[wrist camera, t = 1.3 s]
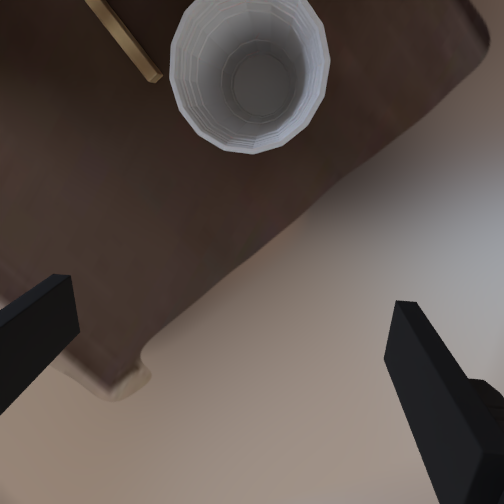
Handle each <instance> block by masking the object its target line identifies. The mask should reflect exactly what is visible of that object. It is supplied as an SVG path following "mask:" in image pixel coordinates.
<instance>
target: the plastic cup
mask: <svg viewBox="0 0 504 504" xmlns="http://www.w3.org/2000/svg"><path fill="white" fill-rule="evenodd" d="M329 67H330V56H329V50H328V45H327V40H326V35H325V30H324V25H323V23H322V22H321V20H320V19H319V17H318V16H317V14H316V13H315V11H314V10H313V8H312V7H311V5H310V4H309V2H308V1H307V0H195V1H194V2H193V3H192V4H191V5H190V6H189V7H188V8H187V9H186V10H185V11H184V14H183V16H182V18H181V21H180V23H179V26H178V28H177V31H176V33H175V35H174V38H173V40H172V43H171V53H170V75H169V79H170V82H171V86H172V89H173V92H174V95H175V99H176V102H177V105H178V108H179V111H180V112H181V113H182V115H183V116H184V117H185V119H186V120H187V121H188V123H189V124H190V125H191V126H192V128H193V129H194V130H195V132H196V133H197V134H198V135H199V136H200V137H202V138H204V139H205V140H207V141H209V142H210V143H212V144H214V145H216V146H217V147H219V148H221V149H222V150H224V151H231V152H239V153H247V154H256V153H260V152H263V151H267V150H270V149H274V148H277V147H281V146H283V145H284V144H285V143H287V142H288V141H289V140H290V139H292V138H293V137H294V136H295V135H297V134H298V133H299V132H300V131H302V130H303V129H304V128H305V127H307V126H308V124H309V122H310V121H311V119H312V117H313V115H314V114H315V112H316V110H317V108H318V107H319V105H320V103H321V102H322V100H323V98H324V96H325V91H326V85H327V79H328V73H329Z"/></svg>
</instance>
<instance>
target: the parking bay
mask: <svg viewBox="0 0 504 504" xmlns="http://www.w3.org/2000/svg"><path fill="white" fill-rule="evenodd" d="M85 2H86V3H87V4H88V6H89V7H90V8H91V9H92V11H93V12H94V13H95V14H96V16H97V17H98V18H99V20H100V21H101V22H102V23H103V25H104V26H105V27H106V28H107V30H108V31H109V32H110V34H111V35H112V36H113V37H114V39H115V40H116V41H117V42H118V44H119V45H120V46H121V48H122V49H123V50H124V51H125V53H126V54H127V55H128V56H129V58H130V59H131V60H132V62H133V63H134V64H135V65H136V67H137V68H138V69H139V70H140V72H141V73H142V74H143V76H144V77H145V78H146V79H147V81H148V82H151V83H156V82H157V81H158V80H159V79H160V78H161V77H162V76H163V74H162V73H161V71H160V70H159V69H158V68H157V66H156V65H155V64H154V62H153V61H152V60H151V59H150V57H149V56H148V55H147V53H146V52H145V51H144V49H143V48H142V47H141V46H140V44H139V43H138V42H137V40H136V39H135V38H134V36H133V35H132V34H131V33H130V31H129V30H128V29H127V27H126V26H125V25H124V24H123V22H122V21H121V20H120V18H119V17H118V16H117V14H116V13H115V12H114V11H113V9H112V8H111V7H110V5H109V4H108V3H107V1H106V0H85Z"/></svg>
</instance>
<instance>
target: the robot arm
mask: <svg viewBox="0 0 504 504" xmlns="http://www.w3.org/2000/svg"><path fill="white" fill-rule="evenodd" d="M79 333H80V328H79V322H78V316H77V310H76V304H75V298H74V292H73V286H72V280H71V275H58V274H53V275H51V276H50V277H48V278H47V279H45V280H44V281H42V282H41V283H39V284H38V285H36V286H35V287H33V288H32V289H31V290H29V291H28V292H26V293H25V294H23V295H22V296H20V297H19V298H17V299H16V300H14V301H13V302H12V303H10V304H9V305H7V306H6V307H4V308H3V309H1V310H0V415H1V414H2V413H3V412H4V411H5V410H6V409H7V408H8V407H9V406H10V405H11V403H13V402H14V401H15V399H17V398H18V396H19V395H20V394H21V393H22V392H23V391H24V390H25V389H26V388H27V387H28V386H29V385H30V384H31V383H32V382H33V381H34V380H35V379H36V377H38V375H39V374H40V373H41V372H42V371H43V370H44V369H45V368H46V367H47V366H48V365H49V364H50V363H51V362H52V361H53V360H54V359H55V358H56V357H57V356H58V355H59V354H60V352H61V351H62V350H63V349H64V348H65V347H66V346H67V345H68V344H69V343H70V342H71V341H72V340H73V339H74V338H75V337H76V336H77V335H78V334H79ZM384 361H385V364H386V366H387V369H388V372H389V374H390V377H391V379H392V382H393V384H394V387H395V389H396V392H397V395H398V397H399V400H400V403H401V405H402V408H403V410H404V413H405V415H406V418H407V421H408V423H409V426H410V428H411V431H412V434H413V436H414V439H415V441H416V444H417V447H418V449H419V452H420V454H421V456H422V460H423V462H424V465H425V467H426V470H427V472H428V475H429V477H430V480H431V483H432V485H433V488H434V491H435V493H436V496H437V498H438V500H439V503H440V504H504V397H503V396H502V395H501V394H500V392H498V391H497V390H496V389H495V388H493V387H492V386H491V385H490V384H488V383H487V382H486V381H484V380H478V379H468V378H467V376H466V375H465V373H464V372H463V370H462V369H461V367H460V366H459V364H458V363H457V362H456V360H455V358H454V357H453V356H452V354H451V353H450V351H449V350H448V348H447V347H446V345H445V344H444V342H443V341H442V339H441V338H440V336H439V335H438V333H437V332H436V330H435V329H434V327H433V326H432V325H431V323H430V322H429V320H428V319H427V317H426V316H425V314H424V313H423V311H422V310H421V308H420V307H419V306H418V304H417V302H410V301H397V300H396V302H395V307H394V312H393V317H392V321H391V326H390V331H389V336H388V340H387V345H386V350H385V355H384Z"/></svg>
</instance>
